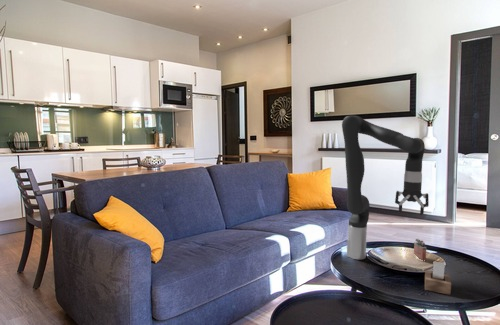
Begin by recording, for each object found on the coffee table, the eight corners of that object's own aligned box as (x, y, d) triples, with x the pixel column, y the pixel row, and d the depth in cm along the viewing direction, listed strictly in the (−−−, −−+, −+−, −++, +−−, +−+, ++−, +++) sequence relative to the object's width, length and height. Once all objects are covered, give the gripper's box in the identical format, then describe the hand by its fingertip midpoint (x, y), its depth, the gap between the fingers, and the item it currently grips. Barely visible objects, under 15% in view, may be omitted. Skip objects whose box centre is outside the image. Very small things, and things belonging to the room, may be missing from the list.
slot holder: (424, 290, 140) (425, 279, 139) (424, 280, 148) (425, 270, 148) (450, 295, 136) (451, 284, 135) (448, 285, 144) (449, 274, 143)
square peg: (432, 286, 141) (433, 264, 140) (432, 282, 144) (433, 261, 143) (442, 288, 139) (444, 266, 138) (442, 284, 143) (444, 263, 141)
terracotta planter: (427, 261, 168) (428, 243, 166) (421, 262, 167) (422, 243, 166) (417, 255, 176) (418, 237, 174) (411, 255, 175) (412, 237, 174)
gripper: (395, 180, 153) (394, 213, 155) (430, 182, 147) (427, 217, 149) (396, 178, 160) (395, 210, 162) (429, 180, 153) (427, 213, 155)
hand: (410, 213), depth 155 cm, fingers open, 8 cm apart
